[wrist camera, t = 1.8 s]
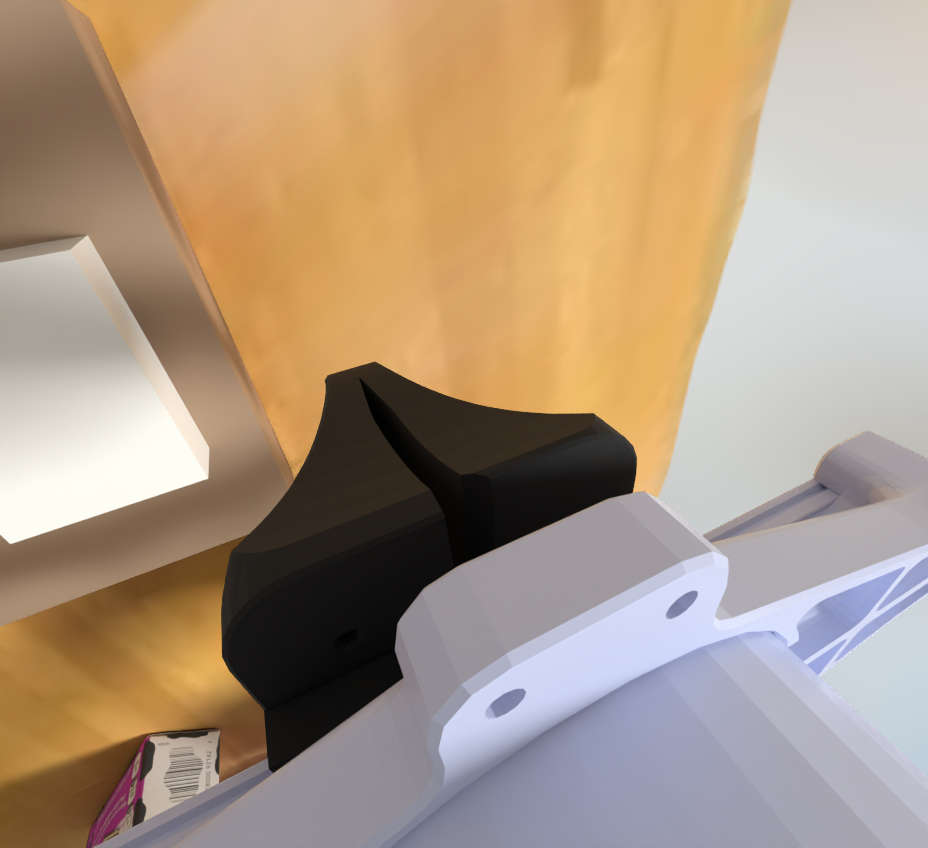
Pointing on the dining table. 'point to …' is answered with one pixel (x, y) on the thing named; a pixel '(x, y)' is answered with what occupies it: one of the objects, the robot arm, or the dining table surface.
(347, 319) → the dining table surface
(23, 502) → the tile
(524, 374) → the dining table surface
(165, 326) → the brown flat block
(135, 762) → the candy bar box
